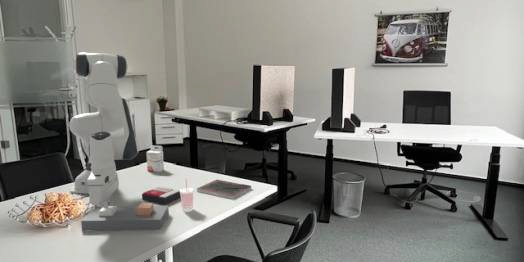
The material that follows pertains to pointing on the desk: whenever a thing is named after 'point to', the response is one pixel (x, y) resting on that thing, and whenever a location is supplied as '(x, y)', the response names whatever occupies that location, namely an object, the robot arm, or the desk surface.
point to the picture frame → (224, 189)
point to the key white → (107, 211)
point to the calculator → (161, 195)
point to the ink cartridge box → (155, 159)
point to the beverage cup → (187, 198)
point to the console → (126, 219)
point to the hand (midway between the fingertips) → (106, 206)
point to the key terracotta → (145, 209)
